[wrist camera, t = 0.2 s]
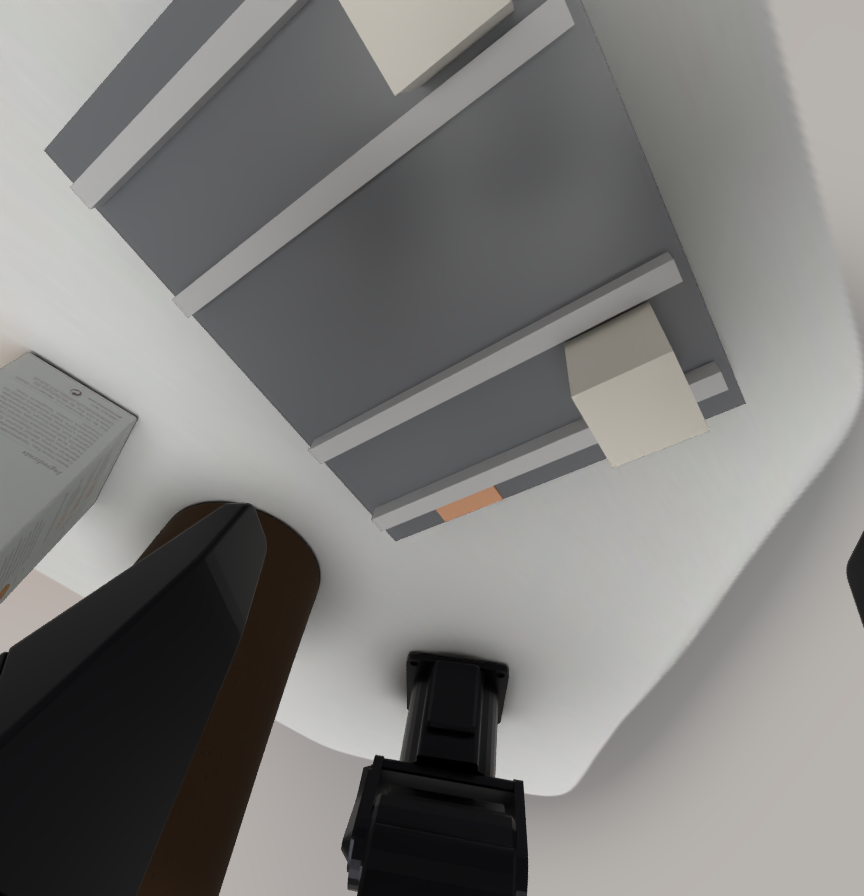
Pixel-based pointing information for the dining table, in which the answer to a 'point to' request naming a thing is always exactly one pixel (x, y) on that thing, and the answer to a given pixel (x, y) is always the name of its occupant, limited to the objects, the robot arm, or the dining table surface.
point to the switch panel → (395, 236)
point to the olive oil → (234, 716)
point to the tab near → (421, 34)
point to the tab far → (631, 387)
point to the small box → (49, 460)
